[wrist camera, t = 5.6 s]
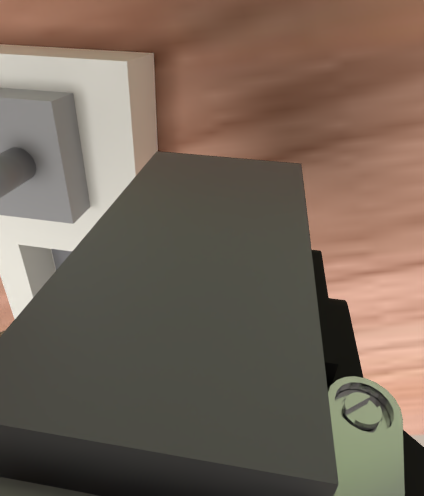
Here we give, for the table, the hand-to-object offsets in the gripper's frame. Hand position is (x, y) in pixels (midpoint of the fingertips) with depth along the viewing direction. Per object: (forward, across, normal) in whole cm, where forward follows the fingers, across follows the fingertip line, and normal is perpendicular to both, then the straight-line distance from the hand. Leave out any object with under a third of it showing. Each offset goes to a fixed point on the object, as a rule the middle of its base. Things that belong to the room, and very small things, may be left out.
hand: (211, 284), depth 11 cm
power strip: (+13, +10, +6) cm, 18 cm away
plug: (+2, 0, 0) cm, 2 cm away
